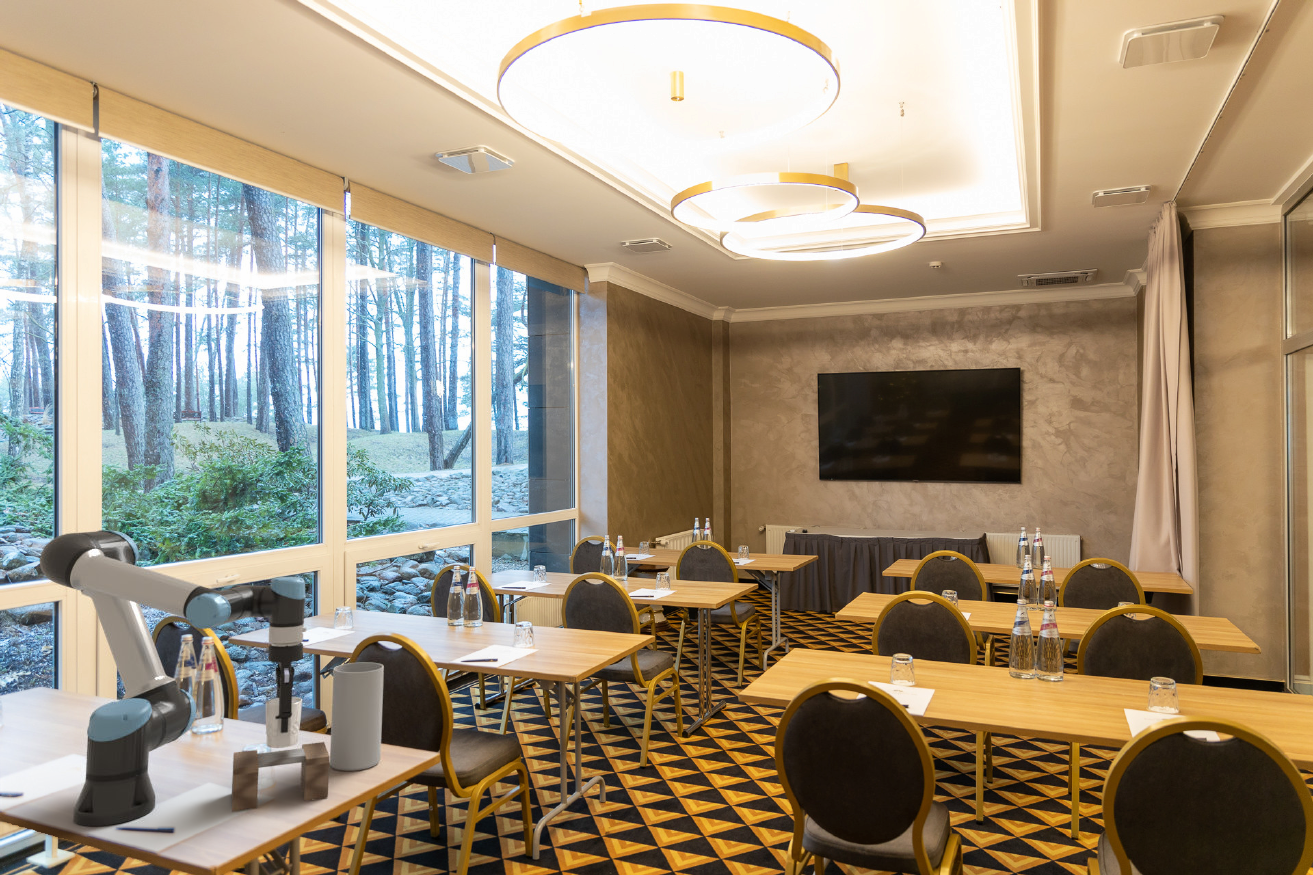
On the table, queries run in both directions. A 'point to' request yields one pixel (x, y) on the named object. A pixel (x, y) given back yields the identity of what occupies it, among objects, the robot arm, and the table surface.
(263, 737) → the table surface
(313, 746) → the shelf
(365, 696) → the cylinder vase
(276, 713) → the white cup
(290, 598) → the robot arm
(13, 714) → the table surface
